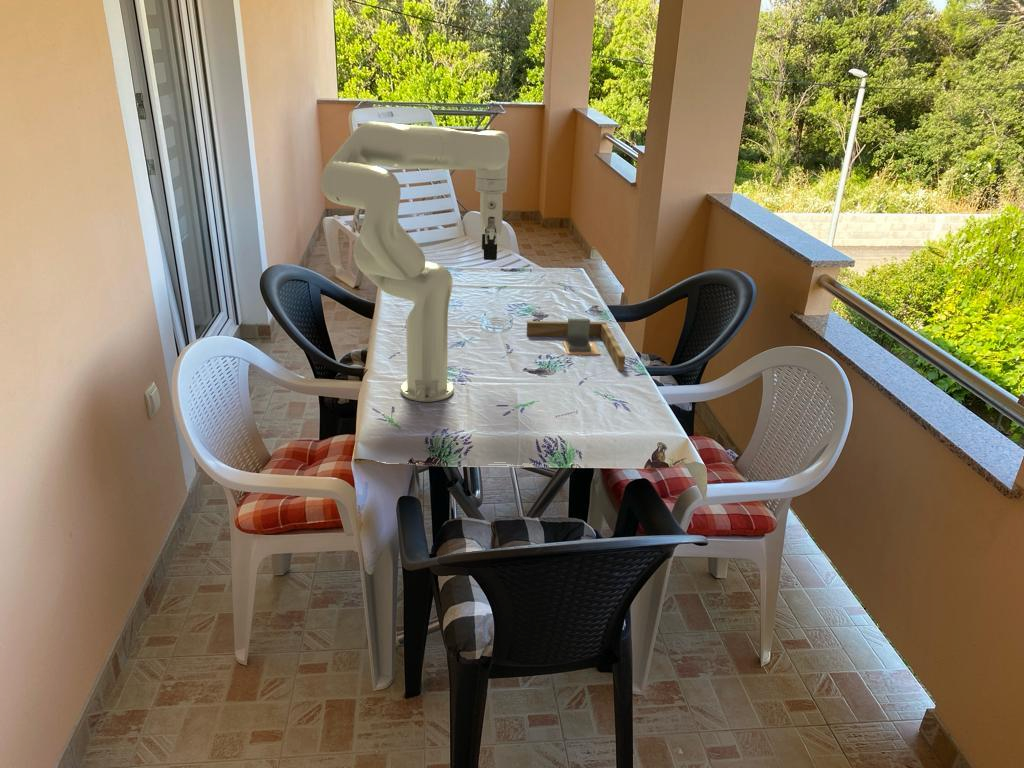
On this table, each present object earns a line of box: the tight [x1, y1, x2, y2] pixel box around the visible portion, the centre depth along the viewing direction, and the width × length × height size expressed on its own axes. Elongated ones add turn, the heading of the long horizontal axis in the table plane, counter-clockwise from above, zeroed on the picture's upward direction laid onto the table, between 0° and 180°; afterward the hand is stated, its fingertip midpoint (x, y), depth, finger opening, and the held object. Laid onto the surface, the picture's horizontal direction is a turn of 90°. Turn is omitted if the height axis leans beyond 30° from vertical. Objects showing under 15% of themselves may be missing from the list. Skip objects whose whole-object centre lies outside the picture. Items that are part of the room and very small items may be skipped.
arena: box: [526, 320, 626, 372], centre depth 204 cm, size 26×23×4 cm
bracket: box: [565, 318, 591, 352], centre depth 205 cm, size 6×6×8 cm
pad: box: [562, 341, 601, 356], centre depth 207 cm, size 9×9×1 cm
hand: (489, 254), depth 185 cm, fingers open, 9 cm apart
